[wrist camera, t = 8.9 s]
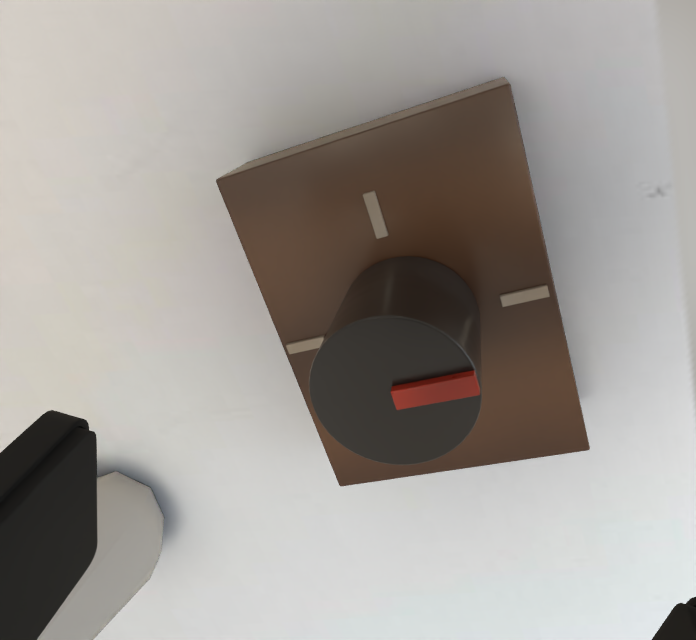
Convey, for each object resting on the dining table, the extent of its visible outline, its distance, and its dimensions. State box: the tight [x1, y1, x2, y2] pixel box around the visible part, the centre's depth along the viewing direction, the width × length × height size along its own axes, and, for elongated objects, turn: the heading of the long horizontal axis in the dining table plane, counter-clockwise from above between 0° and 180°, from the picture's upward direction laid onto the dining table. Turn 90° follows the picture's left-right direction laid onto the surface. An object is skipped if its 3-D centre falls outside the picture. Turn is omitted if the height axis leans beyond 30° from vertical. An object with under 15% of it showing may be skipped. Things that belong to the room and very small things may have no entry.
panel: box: [216, 77, 590, 486], centre depth 21 cm, size 12×9×3 cm
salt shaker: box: [37, 471, 164, 640], centre depth 24 cm, size 6×6×13 cm
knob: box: [309, 256, 482, 465], centre depth 17 cm, size 4×4×5 cm
